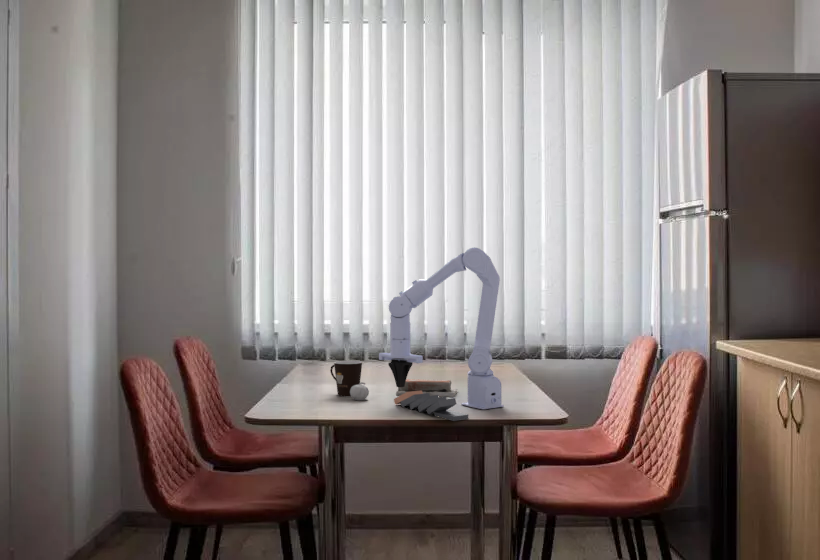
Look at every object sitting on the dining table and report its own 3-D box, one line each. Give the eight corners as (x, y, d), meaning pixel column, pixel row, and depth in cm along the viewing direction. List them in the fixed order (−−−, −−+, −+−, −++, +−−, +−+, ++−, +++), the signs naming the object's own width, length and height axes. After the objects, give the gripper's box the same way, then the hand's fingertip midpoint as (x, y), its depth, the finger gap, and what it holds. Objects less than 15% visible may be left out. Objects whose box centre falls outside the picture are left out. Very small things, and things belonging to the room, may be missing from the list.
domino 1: (409, 402, 210) (423, 396, 203) (394, 404, 207) (408, 397, 201) (408, 397, 210) (422, 390, 204) (393, 399, 208) (407, 391, 202)
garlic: (373, 399, 218) (373, 381, 218) (362, 402, 213) (362, 384, 213) (357, 397, 221) (356, 380, 221) (345, 400, 216) (345, 382, 216)
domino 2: (416, 405, 207) (430, 398, 200) (401, 407, 204) (415, 400, 198) (415, 400, 207) (429, 393, 201) (400, 401, 205) (414, 394, 198)
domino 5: (444, 411, 194) (456, 404, 188) (428, 414, 192) (439, 406, 186) (442, 405, 195) (455, 397, 188) (426, 408, 193) (438, 400, 186)
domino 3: (425, 407, 203) (439, 400, 196) (410, 409, 200) (423, 402, 194) (424, 401, 203) (438, 394, 197) (409, 403, 201) (422, 396, 194)
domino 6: (449, 416, 194) (468, 420, 187) (434, 418, 191) (453, 423, 185) (449, 410, 194) (468, 414, 187) (434, 412, 191) (453, 416, 184)
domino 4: (434, 409, 198) (447, 402, 192) (419, 412, 196) (431, 404, 190) (433, 404, 199) (446, 396, 192) (417, 406, 197) (429, 398, 190)
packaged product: (395, 381, 224) (401, 376, 234) (395, 397, 224) (401, 392, 234) (454, 382, 221) (457, 377, 231) (454, 398, 221) (457, 393, 231)
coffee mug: (366, 396, 223) (365, 363, 223) (338, 397, 220) (338, 364, 220) (354, 390, 234) (354, 359, 234) (328, 392, 231) (328, 360, 231)
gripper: (429, 339, 208) (429, 387, 208) (389, 336, 217) (390, 382, 217) (413, 341, 202) (414, 390, 202) (374, 338, 211) (374, 385, 211)
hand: (400, 386), depth 209 cm, fingers closed
